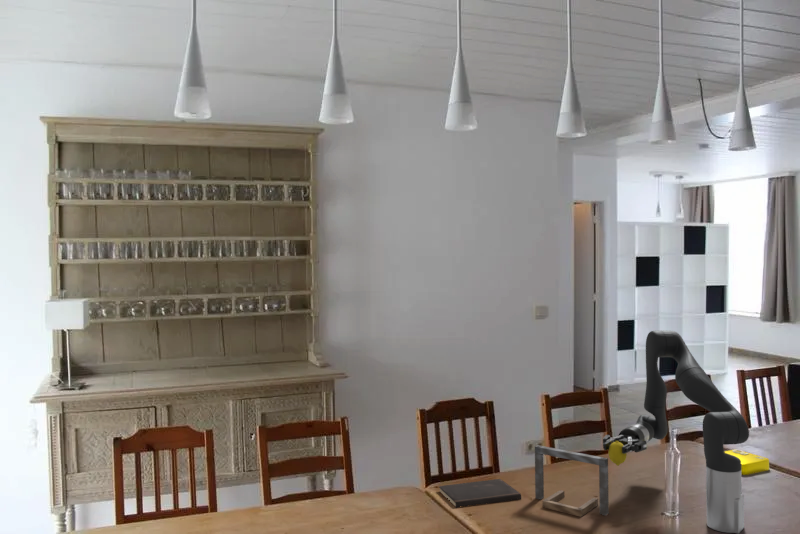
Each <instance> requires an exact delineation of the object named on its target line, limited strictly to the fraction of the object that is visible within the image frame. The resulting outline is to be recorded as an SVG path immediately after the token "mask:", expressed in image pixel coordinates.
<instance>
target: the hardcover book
mask: <svg viewBox="0 0 800 534" xmlns="http://www.w3.org/2000/svg"><path fill="white" fill-rule="evenodd" d="M438 488H439V492H440V493H441V494H442V495H443V496H444V497H445V498H446V499H447V498H448V499H447V500H448V501H449V500H450V501H449V502H450V503H451V504H452V505H453V506H454V507H455V508H461V507H460V506H465V507H469V506H468V505H473V506H477V505H476V504H481V505H486V503H487V504H494V503H495V504H496V503H504V502H511V501H512V502H513V501H518V500H522V494H521V493H520V492H519V491H518V490H516V489H515V488H514V487H513V486H510V484H508V483H507V482H505V481H504V480H503V479H501V478H495V479H488V480H480V481H471V482H462V483H454V484H446V485H438Z"/></svg>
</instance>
